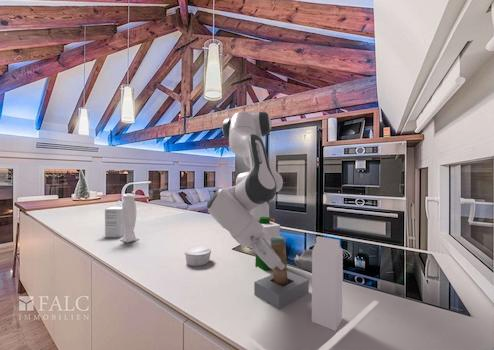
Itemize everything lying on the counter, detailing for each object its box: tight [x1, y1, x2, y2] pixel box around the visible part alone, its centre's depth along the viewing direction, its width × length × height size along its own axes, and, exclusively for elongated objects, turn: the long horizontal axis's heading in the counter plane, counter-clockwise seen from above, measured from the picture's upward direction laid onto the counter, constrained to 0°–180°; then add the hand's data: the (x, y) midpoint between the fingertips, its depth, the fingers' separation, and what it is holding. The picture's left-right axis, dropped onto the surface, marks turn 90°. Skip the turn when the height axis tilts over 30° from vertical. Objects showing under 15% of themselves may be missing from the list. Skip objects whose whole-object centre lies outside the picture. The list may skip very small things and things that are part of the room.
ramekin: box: [184, 245, 212, 267], centre depth 100 cm, size 11×11×5 cm
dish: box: [294, 249, 313, 273], centre depth 96 cm, size 14×14×5 cm
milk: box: [311, 235, 344, 332], centre depth 60 cm, size 6×6×22 cm
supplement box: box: [104, 206, 124, 238], centre depth 142 cm, size 10×9×17 cm
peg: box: [271, 236, 288, 287], centre depth 72 cm, size 4×4×17 cm
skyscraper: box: [119, 190, 140, 244], centre depth 130 cm, size 8×8×28 cm
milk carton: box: [254, 217, 281, 272], centre depth 94 cm, size 9×9×20 cm
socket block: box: [253, 270, 310, 310], centre depth 72 cm, size 14×10×5 cm
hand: (280, 263), depth 72 cm, fingers closed on peg, 4 cm apart
